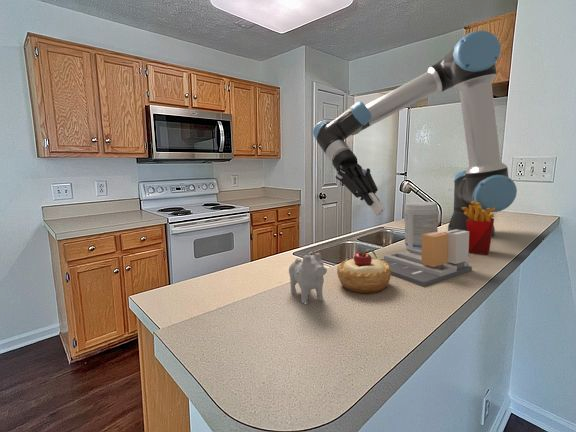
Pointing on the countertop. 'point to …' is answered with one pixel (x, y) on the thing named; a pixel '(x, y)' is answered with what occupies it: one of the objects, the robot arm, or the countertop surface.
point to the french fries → (479, 228)
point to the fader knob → (434, 249)
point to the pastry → (364, 273)
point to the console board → (415, 272)
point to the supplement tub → (419, 222)
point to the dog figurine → (308, 275)
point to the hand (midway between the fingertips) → (380, 212)
